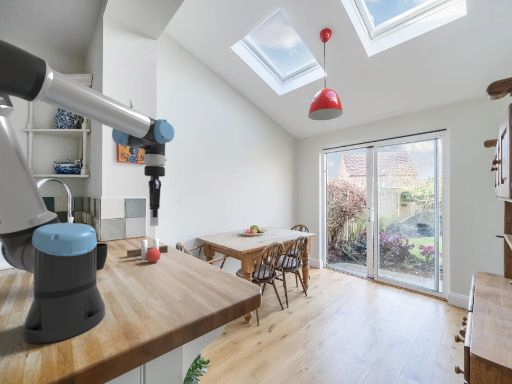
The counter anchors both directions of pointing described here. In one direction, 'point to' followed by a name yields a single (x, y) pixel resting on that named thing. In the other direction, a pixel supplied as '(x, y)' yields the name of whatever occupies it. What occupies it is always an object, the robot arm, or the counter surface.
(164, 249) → the backstop
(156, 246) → the pin right
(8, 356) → the counter surface
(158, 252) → the ball
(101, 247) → the mug
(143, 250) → the pin left
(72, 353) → the counter surface
